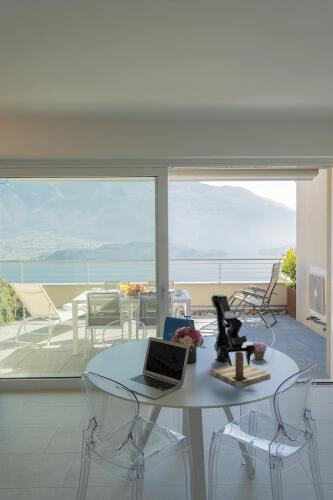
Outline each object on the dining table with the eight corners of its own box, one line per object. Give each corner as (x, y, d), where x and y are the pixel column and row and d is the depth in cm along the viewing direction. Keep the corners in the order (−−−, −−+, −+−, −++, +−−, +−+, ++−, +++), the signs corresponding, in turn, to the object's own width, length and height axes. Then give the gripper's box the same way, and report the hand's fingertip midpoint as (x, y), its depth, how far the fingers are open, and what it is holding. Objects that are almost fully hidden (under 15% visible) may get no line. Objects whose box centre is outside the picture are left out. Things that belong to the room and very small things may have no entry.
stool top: (210, 373, 219) (210, 370, 219) (241, 365, 231) (240, 361, 231) (239, 387, 200) (239, 383, 200) (270, 377, 212) (270, 373, 212)
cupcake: (249, 356, 246) (249, 340, 246) (263, 355, 247) (263, 339, 246) (254, 361, 237) (253, 344, 237) (268, 360, 238) (268, 343, 237)
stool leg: (234, 382, 206) (233, 353, 205) (237, 380, 209) (237, 351, 208) (241, 384, 204) (241, 355, 203) (244, 381, 207) (244, 352, 206)
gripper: (219, 331, 208) (225, 359, 198) (254, 329, 210) (261, 357, 200) (215, 341, 216) (221, 369, 206) (249, 339, 218) (256, 367, 208)
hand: (240, 365), depth 205 cm, fingers open, 9 cm apart
